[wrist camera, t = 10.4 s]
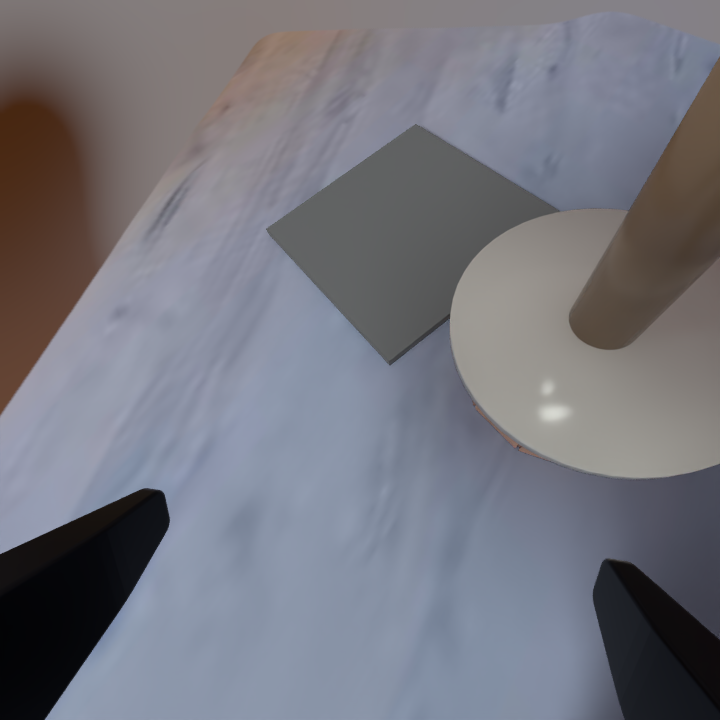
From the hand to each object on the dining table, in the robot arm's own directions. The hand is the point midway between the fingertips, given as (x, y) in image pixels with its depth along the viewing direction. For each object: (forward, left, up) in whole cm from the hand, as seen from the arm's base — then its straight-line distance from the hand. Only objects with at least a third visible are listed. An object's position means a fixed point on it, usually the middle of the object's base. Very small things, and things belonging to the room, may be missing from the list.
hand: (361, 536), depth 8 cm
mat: (+16, -13, -14) cm, 25 cm away
